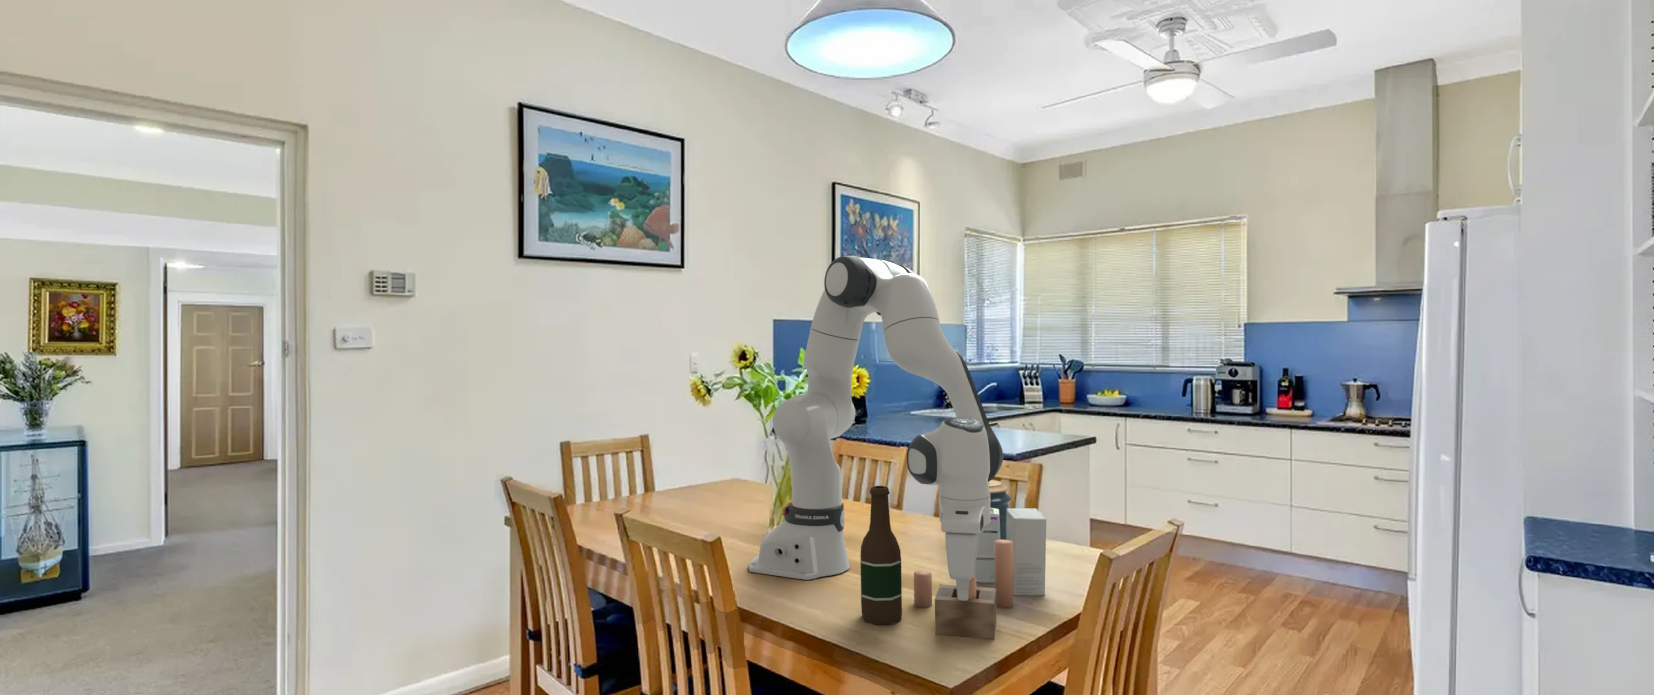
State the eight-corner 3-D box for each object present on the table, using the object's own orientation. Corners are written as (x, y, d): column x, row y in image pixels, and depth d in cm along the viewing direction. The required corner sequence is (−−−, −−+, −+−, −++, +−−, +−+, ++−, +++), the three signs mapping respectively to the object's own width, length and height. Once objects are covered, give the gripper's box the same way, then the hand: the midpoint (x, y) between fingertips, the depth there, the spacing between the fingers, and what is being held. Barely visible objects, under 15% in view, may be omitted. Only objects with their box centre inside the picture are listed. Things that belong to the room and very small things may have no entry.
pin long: (994, 607, 144) (994, 543, 143) (995, 601, 147) (995, 539, 147) (1012, 608, 143) (1012, 545, 142) (1013, 602, 146) (1013, 540, 146)
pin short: (913, 606, 145) (912, 575, 144) (915, 600, 148) (915, 569, 148) (930, 608, 144) (930, 576, 144) (933, 601, 147) (932, 571, 147)
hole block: (935, 633, 131) (934, 599, 131) (940, 617, 139) (940, 584, 139) (994, 639, 129) (993, 603, 129) (996, 621, 136) (996, 588, 136)
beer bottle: (872, 629, 134) (870, 493, 134) (853, 614, 141) (851, 485, 141) (910, 621, 137) (908, 488, 137) (890, 607, 144) (888, 481, 144)
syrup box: (1001, 583, 157) (1000, 513, 157) (972, 582, 158) (971, 512, 158) (1001, 575, 163) (1000, 507, 162) (972, 574, 164) (972, 506, 163)
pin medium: (956, 630, 133) (955, 579, 132) (958, 623, 136) (957, 573, 136) (976, 632, 132) (975, 580, 132) (977, 624, 135) (976, 574, 135)
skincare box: (1005, 582, 158) (1004, 507, 157) (1037, 582, 157) (1036, 507, 157) (1014, 596, 149) (1013, 517, 149) (1047, 596, 149) (1047, 517, 149)
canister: (978, 535, 195) (978, 466, 195) (1022, 545, 186) (1021, 472, 185) (946, 545, 186) (946, 473, 186) (991, 556, 177) (990, 480, 176)
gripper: (952, 498, 144) (953, 570, 145) (940, 524, 125) (941, 608, 125) (986, 499, 143) (987, 573, 143) (979, 526, 123) (980, 611, 123)
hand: (965, 590), depth 134 cm, fingers open, 8 cm apart
